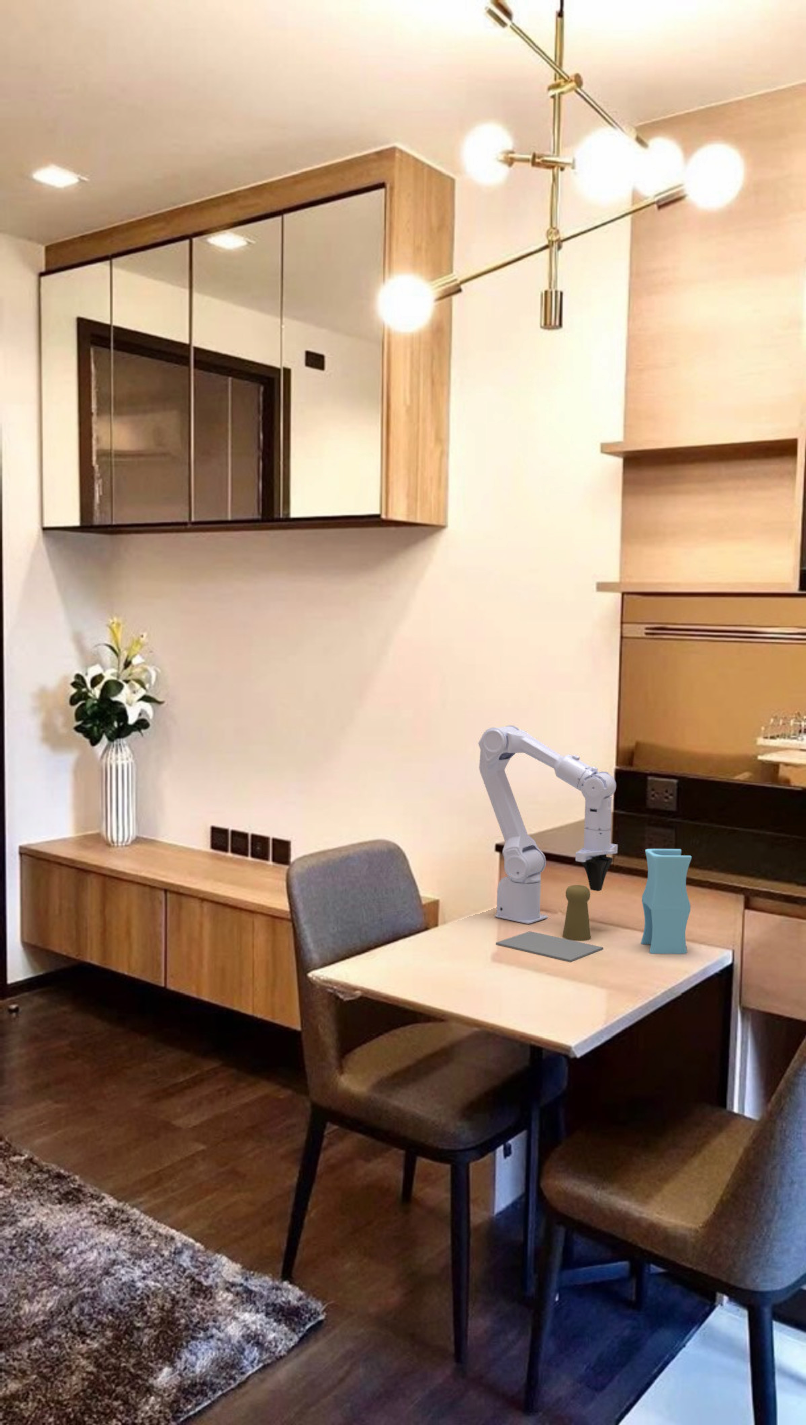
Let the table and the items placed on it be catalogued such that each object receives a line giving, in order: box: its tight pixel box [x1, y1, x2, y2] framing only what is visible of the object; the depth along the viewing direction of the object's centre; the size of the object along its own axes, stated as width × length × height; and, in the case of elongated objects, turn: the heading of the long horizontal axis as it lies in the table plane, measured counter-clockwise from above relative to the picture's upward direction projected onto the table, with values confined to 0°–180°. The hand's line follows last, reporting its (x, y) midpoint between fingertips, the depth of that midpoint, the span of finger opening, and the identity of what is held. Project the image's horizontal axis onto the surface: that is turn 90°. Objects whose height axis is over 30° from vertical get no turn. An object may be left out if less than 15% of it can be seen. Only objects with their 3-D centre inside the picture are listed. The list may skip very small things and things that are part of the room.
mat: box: [495, 930, 604, 963], centre depth 224 cm, size 18×12×1 cm
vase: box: [640, 848, 692, 955], centre depth 224 cm, size 8×8×20 cm
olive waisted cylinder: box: [562, 884, 592, 942], centre depth 232 cm, size 6×6×11 cm
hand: (595, 890), depth 237 cm, fingers closed
